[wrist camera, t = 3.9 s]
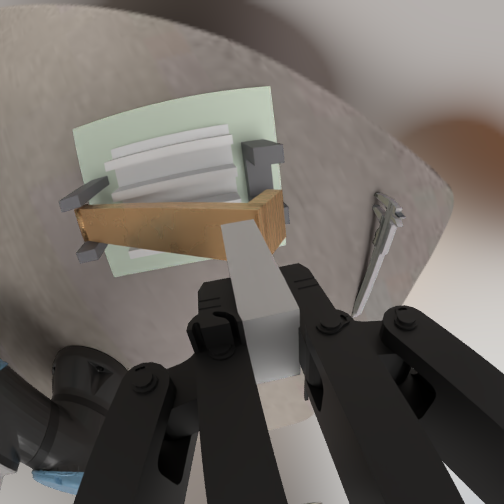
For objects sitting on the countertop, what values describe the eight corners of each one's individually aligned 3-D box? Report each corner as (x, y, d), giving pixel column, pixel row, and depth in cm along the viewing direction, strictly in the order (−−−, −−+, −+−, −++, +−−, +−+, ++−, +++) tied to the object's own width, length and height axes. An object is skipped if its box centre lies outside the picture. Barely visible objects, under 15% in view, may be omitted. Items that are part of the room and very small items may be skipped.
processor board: (117, 271, 32) (96, 319, 24) (78, 128, 24) (33, 135, 15) (282, 239, 34) (309, 280, 26) (266, 87, 26) (295, 74, 17)
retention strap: (110, 224, 25) (81, 241, 22) (102, 195, 23) (71, 210, 20) (285, 236, 17) (262, 267, 14) (282, 189, 16) (255, 211, 13)
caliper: (373, 191, 34) (401, 206, 28) (379, 191, 34) (408, 206, 28) (350, 315, 43) (367, 341, 37) (356, 314, 43) (373, 339, 37)
